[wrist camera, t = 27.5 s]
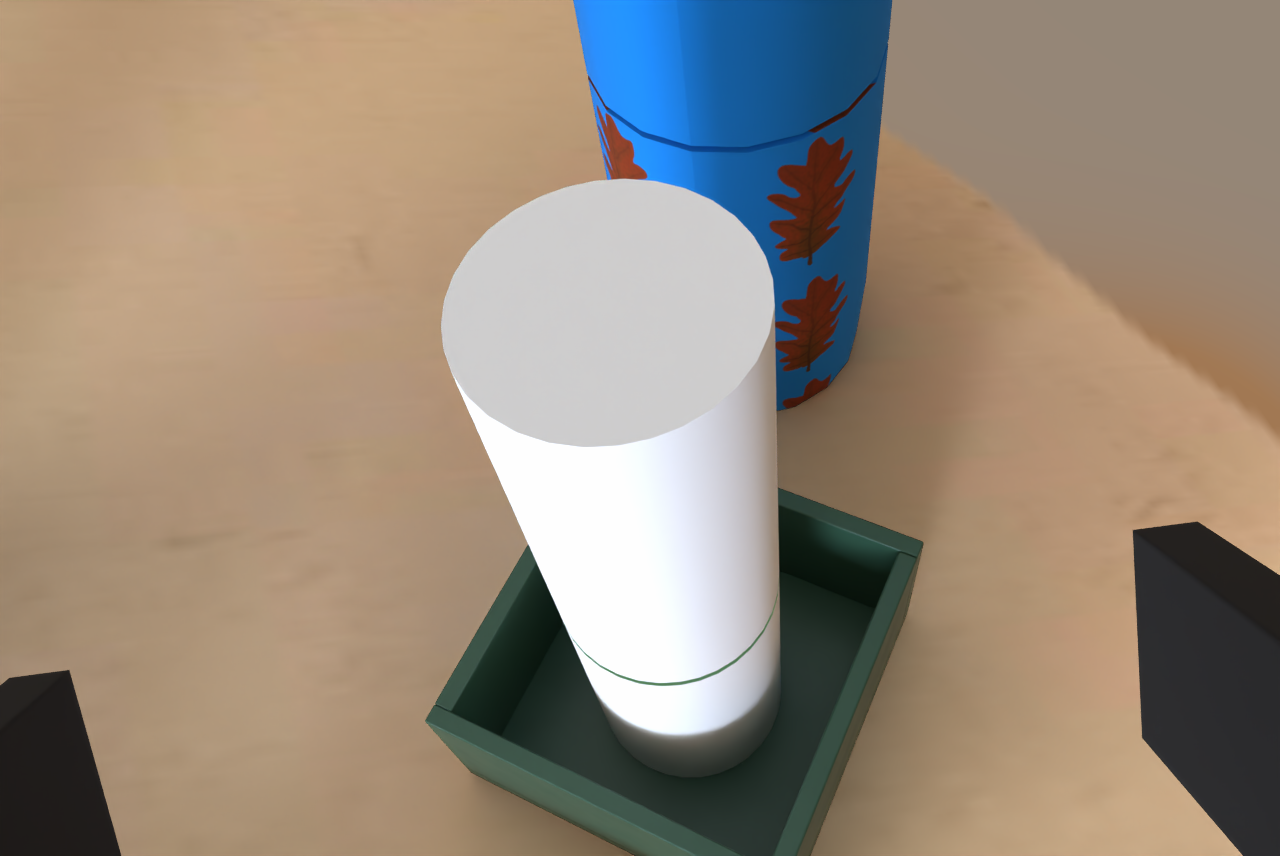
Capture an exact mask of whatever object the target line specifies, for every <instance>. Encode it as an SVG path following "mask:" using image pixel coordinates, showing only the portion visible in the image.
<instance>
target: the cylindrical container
mask: <svg viewBox="0 0 1280 856" xmlns="http://www.w3.org/2000/svg"><path fill="white" fill-rule="evenodd" d="M441 331H442V341H443V350H444V353H445V356H446V358H447V361H448V364H449V367H450V370H451V372H452V375H453V377H454V379H455V382H456V384H457V386H458V388H459V390H460V393H461V395H462V397H463V399H464V402H465V404H466V406H467V408H468V411H469V413H470V415H471V417H472V419H473V422H474V424H475V426H476V428H477V431H478V433H479V435H480V437H481V440H482V442H483V444H484V446H485V448H486V451H487V453H488V455H489V457H490V460H491V462H492V464H493V466H494V468H495V471H496V473H497V475H498V477H499V480H500V482H501V484H502V486H503V489H504V491H505V493H506V495H507V497H508V500H509V502H510V504H511V506H512V509H513V511H514V513H515V515H516V518H517V520H518V522H519V524H520V526H521V529H522V531H523V533H524V535H525V538H526V540H527V542H528V544H529V547H530V549H531V551H532V553H533V555H534V558H535V560H536V562H537V564H538V567H539V569H540V571H541V573H542V575H543V578H544V580H545V582H546V584H547V587H548V589H549V591H550V593H551V596H552V598H553V600H554V602H555V604H556V607H557V609H558V611H559V613H560V616H561V618H562V620H563V622H564V625H565V627H566V629H567V631H568V634H569V636H570V638H571V640H572V642H573V645H574V647H575V649H576V651H577V654H578V656H579V658H580V660H581V663H582V665H583V667H584V669H585V671H586V674H587V676H588V678H589V680H590V683H591V685H592V687H593V689H594V691H595V694H596V696H597V698H598V700H599V703H600V705H601V707H602V709H603V712H604V714H605V716H606V718H607V720H608V723H609V725H610V727H611V729H612V731H613V732H614V734H615V736H616V737H617V739H618V741H619V742H620V744H621V745H622V746H623V747H624V748H625V749H626V750H627V751H628V752H629V753H630V754H631V755H632V756H633V757H634V758H636V759H637V760H638V761H640V762H641V763H643V764H644V765H646V766H647V767H649V768H652V769H654V770H656V771H659V772H661V773H664V774H667V775H673V776H678V777H704V776H709V775H714V774H718V773H721V772H723V771H725V770H728V769H730V768H733V767H735V766H736V765H738V764H739V763H741V762H742V761H744V760H745V759H747V758H748V757H749V756H750V755H751V754H752V753H753V752H754V751H755V750H756V749H757V748H758V747H759V746H760V745H761V744H762V743H763V741H764V740H765V738H766V737H767V735H768V733H769V732H770V730H771V729H772V726H773V724H774V721H775V718H776V716H777V713H778V710H779V703H780V696H781V665H780V596H779V533H778V473H777V413H776V353H775V302H774V288H773V278H772V275H771V272H770V269H769V265H768V262H767V259H766V256H765V254H764V253H763V251H762V249H761V248H760V246H759V244H758V243H757V241H756V239H755V238H754V236H753V235H752V234H751V232H750V231H749V230H748V229H747V228H746V227H745V226H744V225H743V224H742V223H741V222H740V221H739V220H738V219H737V218H736V216H734V215H733V214H731V213H730V212H728V211H727V210H726V209H724V208H723V207H721V206H720V205H718V204H717V203H716V202H714V201H713V200H711V199H708V198H706V197H704V196H702V195H699V194H697V193H695V192H693V191H690V190H688V189H686V188H682V187H678V186H674V185H670V184H666V183H661V182H657V181H649V180H635V179H613V180H600V181H592V182H587V183H582V184H578V185H573V186H568V187H565V188H562V189H559V190H557V191H554V192H551V193H548V194H545V195H543V196H540V197H538V198H536V199H534V200H532V201H530V202H529V203H527V204H525V205H523V206H521V207H519V208H517V209H515V210H514V211H512V212H511V213H510V214H508V215H507V216H506V217H504V218H503V219H501V220H500V221H499V222H497V223H496V224H495V225H493V226H492V227H491V228H489V230H488V231H487V232H486V233H485V234H484V235H483V236H482V237H481V238H480V239H479V240H478V241H477V242H476V243H475V244H474V245H473V246H472V248H471V249H470V250H469V251H468V253H467V254H466V256H465V257H464V259H463V260H462V262H461V264H460V265H459V267H458V268H457V270H456V272H455V273H454V275H453V278H452V280H451V283H450V286H449V288H448V291H447V294H446V297H445V299H444V305H443V313H442V321H441Z"/></svg>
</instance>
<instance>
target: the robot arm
mask: <svg viewBox="0 0 1280 856" xmlns="http://www.w3.org/2000/svg"><path fill="white" fill-rule="evenodd" d="M1133 544H1134V566H1135V588H1136V610H1137V632H1138V655H1139V677H1140V699H1141V721H1142V738H1143V739H1144V741H1145V742H1146V743H1147V744H1148V745H1149V746H1150V748H1151V749H1152V750H1153V751H1154V752H1155V753H1156V755H1157V756H1158V757H1159V758H1160V759H1161V760H1162V762H1163V763H1164V764H1165V765H1166V766H1167V767H1168V769H1169V770H1170V771H1171V772H1172V773H1173V774H1174V776H1175V777H1176V778H1177V779H1178V780H1179V781H1180V783H1181V784H1182V785H1183V786H1184V787H1185V788H1186V790H1187V791H1188V792H1189V793H1190V794H1191V795H1192V797H1193V798H1194V799H1195V800H1196V801H1197V802H1198V804H1199V805H1200V806H1201V807H1202V808H1203V809H1204V811H1205V812H1206V813H1207V814H1208V815H1209V816H1210V818H1211V819H1212V820H1213V821H1214V822H1215V823H1216V825H1217V826H1218V827H1219V828H1220V829H1221V830H1222V832H1223V833H1224V834H1225V835H1226V836H1227V837H1228V839H1229V840H1230V841H1231V842H1232V843H1233V844H1234V846H1235V847H1236V848H1237V849H1238V850H1239V851H1240V853H1241V854H1242V855H1243V856H1280V575H1278V574H1277V573H1275V572H1274V571H1272V570H1271V569H1269V568H1268V567H1266V566H1265V565H1263V564H1261V563H1260V562H1258V561H1257V560H1255V559H1254V558H1252V557H1251V556H1249V555H1248V554H1246V553H1245V552H1243V551H1242V550H1240V549H1239V548H1237V547H1236V546H1234V545H1232V544H1231V543H1229V542H1228V541H1226V540H1225V539H1223V538H1222V537H1220V536H1219V535H1217V534H1216V533H1214V532H1213V531H1211V530H1210V529H1208V528H1206V527H1205V526H1203V525H1202V524H1200V523H1199V522H1191V523H1183V524H1176V525H1168V526H1161V527H1153V528H1145V529H1138V530H1133ZM0 856H121V853H120V849H119V846H118V842H117V839H116V835H115V832H114V828H113V824H112V821H111V817H110V814H109V810H108V807H107V803H106V799H105V796H104V792H103V789H102V785H101V782H100V778H99V775H98V771H97V767H96V764H95V760H94V757H93V753H92V750H91V746H90V742H89V739H88V735H87V732H86V728H85V725H84V721H83V718H82V714H81V710H80V707H79V703H78V700H77V696H76V693H75V689H74V685H73V682H72V678H71V675H70V671H69V670H66V671H59V672H51V673H44V674H36V675H28V676H21V677H13V678H9V679H8V680H6V681H5V682H4V683H3V684H2V685H0Z"/></svg>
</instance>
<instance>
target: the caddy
mask: <svg viewBox="0 0 1280 856" xmlns="http://www.w3.org/2000/svg"><path fill="white" fill-rule="evenodd" d="M778 533H779V596H780V665H781V696H780V703H779V710H778V713H777V716H776V718H775V721H774V724H773V726H772V729H771V730H770V732H769V733H768V735H767V737H766V738H765V740H764V741H763V743H762V744H761V745H760V746H759V747H758V748H757V749H756V750H755V751H754V752H753V753H752V754H751V755H750V756H749V757H748V758H747V759H745V760H744V761H742V762H741V763H739V764H738V765H736V766H735V767H733V768H730V769H728V770H725V771H723V772H721V773H718V774H714V775H709V776H704V777H678V776H673V775H667V774H664V773H661V772H659V771H656V770H654V769H652V768H649V767H647V766H646V765H644V764H643V763H641V762H640V761H638V760H637V759H636V758H634V757H633V756H632V755H631V754H630V753H629V752H628V751H627V750H626V749H625V748H624V747H623V746H622V745H621V744H620V742H619V741H618V739H617V737H616V736H615V734H614V732H613V731H612V729H611V727H610V725H609V723H608V720H607V718H606V716H605V714H604V712H603V709H602V707H601V705H600V703H599V700H598V698H597V696H596V694H595V691H594V689H593V687H592V685H591V683H590V680H589V678H588V676H587V674H586V671H585V669H584V667H583V665H582V663H581V660H580V658H579V656H578V654H577V651H576V649H575V647H574V645H573V642H572V640H571V638H570V636H569V634H568V631H567V629H566V627H565V625H564V622H563V620H562V618H561V616H560V613H559V611H558V609H557V607H556V604H555V602H554V600H553V598H552V596H551V593H550V591H549V589H548V587H547V584H546V582H545V580H544V578H543V575H542V573H541V571H540V569H539V567H538V564H537V562H536V560H535V558H534V555H533V553H532V551H531V549H530V547H529V544H528V546H527V547H526V549H525V551H524V552H523V554H522V556H521V557H520V559H519V561H518V563H517V564H516V566H515V568H514V569H513V571H512V573H511V575H510V576H509V578H508V580H507V581H506V583H505V585H504V587H503V588H502V590H501V592H500V593H499V595H498V597H497V598H496V600H495V602H494V604H493V605H492V607H491V609H490V610H489V612H488V614H487V616H486V617H485V619H484V621H483V622H482V624H481V626H480V627H479V629H478V631H477V633H476V634H475V636H474V638H473V639H472V641H471V643H470V645H469V646H468V648H467V650H466V651H465V653H464V655H463V657H462V658H461V660H460V662H459V663H458V665H457V667H456V668H455V670H454V672H453V674H452V675H451V677H450V679H449V680H448V682H447V684H446V686H445V687H444V689H443V691H442V692H441V694H440V696H439V697H438V699H437V701H436V703H435V704H436V705H434V706H433V708H432V710H431V712H430V713H429V715H428V717H427V718H426V720H425V722H426V723H427V724H428V725H429V726H430V727H431V729H432V730H433V731H434V732H435V733H436V734H437V735H438V736H439V737H440V738H441V740H442V741H443V742H444V743H445V744H446V745H447V746H448V747H449V748H450V750H451V751H452V752H453V753H454V754H455V755H456V756H457V757H458V758H459V760H460V761H461V762H462V763H463V764H464V765H465V766H466V767H467V768H468V769H469V771H470V772H471V773H473V774H475V775H477V776H479V777H481V778H483V779H485V780H487V781H489V782H491V783H493V784H495V785H497V786H499V787H501V788H503V789H505V790H507V791H509V792H511V793H513V794H515V795H517V796H519V797H521V798H523V799H524V800H526V801H528V802H530V803H532V804H534V805H536V806H538V807H540V808H542V809H544V810H546V811H548V812H550V813H552V814H554V815H556V816H558V817H560V818H562V819H564V820H566V821H568V822H570V823H572V824H574V825H576V826H578V827H580V828H582V829H584V830H586V831H588V832H590V833H592V834H593V835H595V836H597V837H599V838H601V839H603V840H605V841H607V842H609V843H611V844H613V845H615V846H617V847H619V848H621V849H623V850H625V851H627V852H629V853H631V854H633V855H635V856H810V855H811V852H812V850H813V847H814V845H815V842H816V840H817V837H818V835H819V832H820V830H821V827H822V825H823V822H824V820H825V817H826V815H827V812H828V810H829V807H830V805H831V802H832V800H833V797H834V795H835V792H836V790H837V787H838V785H839V782H840V780H841V777H842V775H843V772H844V770H845V767H846V765H847V762H848V760H849V757H850V755H851V752H852V750H853V747H854V745H855V742H856V740H857V737H858V735H859V732H860V730H861V727H862V725H863V722H864V720H865V717H866V715H867V712H868V710H869V707H870V705H871V702H872V700H873V697H874V695H875V692H876V690H877V687H878V685H879V682H880V680H881V677H882V675H883V672H884V670H885V667H886V665H887V662H888V660H889V657H890V655H891V652H892V650H893V647H894V645H895V642H896V640H897V637H898V635H899V632H900V630H901V627H902V625H903V622H904V620H905V617H906V615H907V611H908V607H909V603H910V598H911V594H912V590H913V586H914V582H915V577H916V573H917V569H918V565H919V561H920V556H921V552H922V548H923V542H922V541H920V540H917V539H914V538H912V537H909V536H906V535H904V534H901V533H898V532H895V531H893V530H890V529H887V528H885V527H882V526H879V525H877V524H874V523H871V522H869V521H866V520H863V519H861V518H858V517H855V516H853V515H850V514H847V513H844V512H842V511H839V510H836V509H834V508H831V507H828V506H826V505H823V504H820V503H818V502H815V501H812V500H810V499H807V498H804V497H802V496H799V495H796V494H794V493H791V492H788V491H785V490H783V489H780V488H778Z"/></svg>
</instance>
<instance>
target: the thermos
mask: <svg viewBox="0 0 1280 856" xmlns="http://www.w3.org/2000/svg"><path fill="white" fill-rule="evenodd" d="M573 1H574V6H575V12H576V17H577V22H578V27H579V33H580V38H581V43H582V48H583V54H584V59H585V64H586V69H587V74H588V80H589V85H590V90H591V96H592V101H593V106H594V111H595V117H596V122H597V127H598V132H599V138H600V143H601V148H602V153H603V159H604V164H605V169H606V174H607V179H608V180H613V179H635V180H649V181H657V182H661V183H666V184H670V185H674V186H678V187H682V188H686V189H688V190H690V191H693V192H695V193H697V194H699V195H702V196H704V197H706V198H708V199H711V200H713V201H714V202H716V203H717V204H718V205H720V206H721V207H723V208H724V209H726V210H727V211H728V212H730V213H731V214H733V215H734V216H736V218H737V219H738V220H739V221H740V222H741V223H742V224H743V225H744V226H745V227H746V228H747V229H748V230H749V231H750V232H751V234H752V235H753V236H754V238H755V239H756V241H757V243H758V244H759V246H760V248H761V249H762V251H763V253H764V254H765V256H766V259H767V262H768V265H769V269H770V272H771V275H772V278H773V288H774V302H775V353H776V411H778V410H783V409H787V408H791V407H795V406H797V405H799V404H800V403H802V402H804V401H805V400H807V399H808V398H810V397H812V396H813V395H815V394H817V393H818V392H820V391H822V390H823V389H825V388H827V387H828V385H829V384H830V383H831V382H832V380H833V379H834V378H835V377H836V375H837V374H838V373H839V372H840V370H841V369H842V368H843V367H844V365H845V364H846V363H847V362H848V360H849V356H850V352H851V349H852V345H853V342H854V338H855V334H856V331H857V325H858V320H859V315H860V309H861V304H862V298H863V293H864V287H865V282H866V273H867V263H868V252H869V241H870V231H871V220H872V210H873V199H874V188H875V178H876V167H877V157H878V146H879V135H880V125H881V114H882V103H883V93H884V82H885V72H886V60H887V50H888V43H887V42H888V39H889V29H890V19H891V8H892V0H573Z"/></svg>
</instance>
